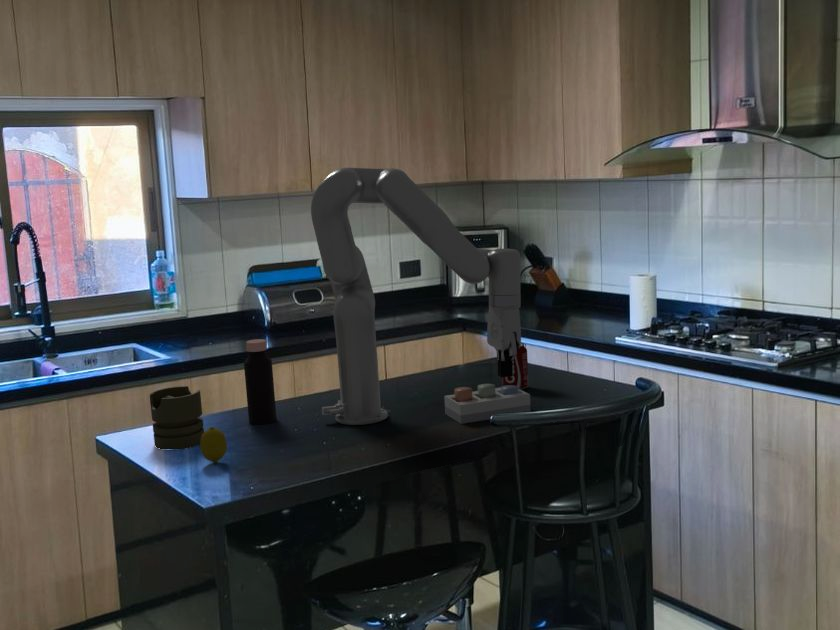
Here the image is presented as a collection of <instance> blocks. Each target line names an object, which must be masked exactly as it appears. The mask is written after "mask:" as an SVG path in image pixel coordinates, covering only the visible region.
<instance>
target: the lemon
mask: <svg viewBox="0 0 840 630" xmlns="http://www.w3.org/2000/svg"><path fill="white" fill-rule="evenodd" d="M227 443H228V442H227V440H226V436H225V434H224V432H223V431H221V430H220V429H218V428H215V427H214V426H210V427H209V428H207V429H206V430H204V433H203V434H202V437H201V441H200V445H199V446H200V447H199V448H200V451H201V454H202V456H203V457H204V458H205V459H206V460H207V461H210V462H212V463H213V464H217V463H218V461H220V460H221V459H222V458H224V456H225V454H226V452H227V450H228V449H227V448H228V447H227V446H228V445H227Z"/></svg>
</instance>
